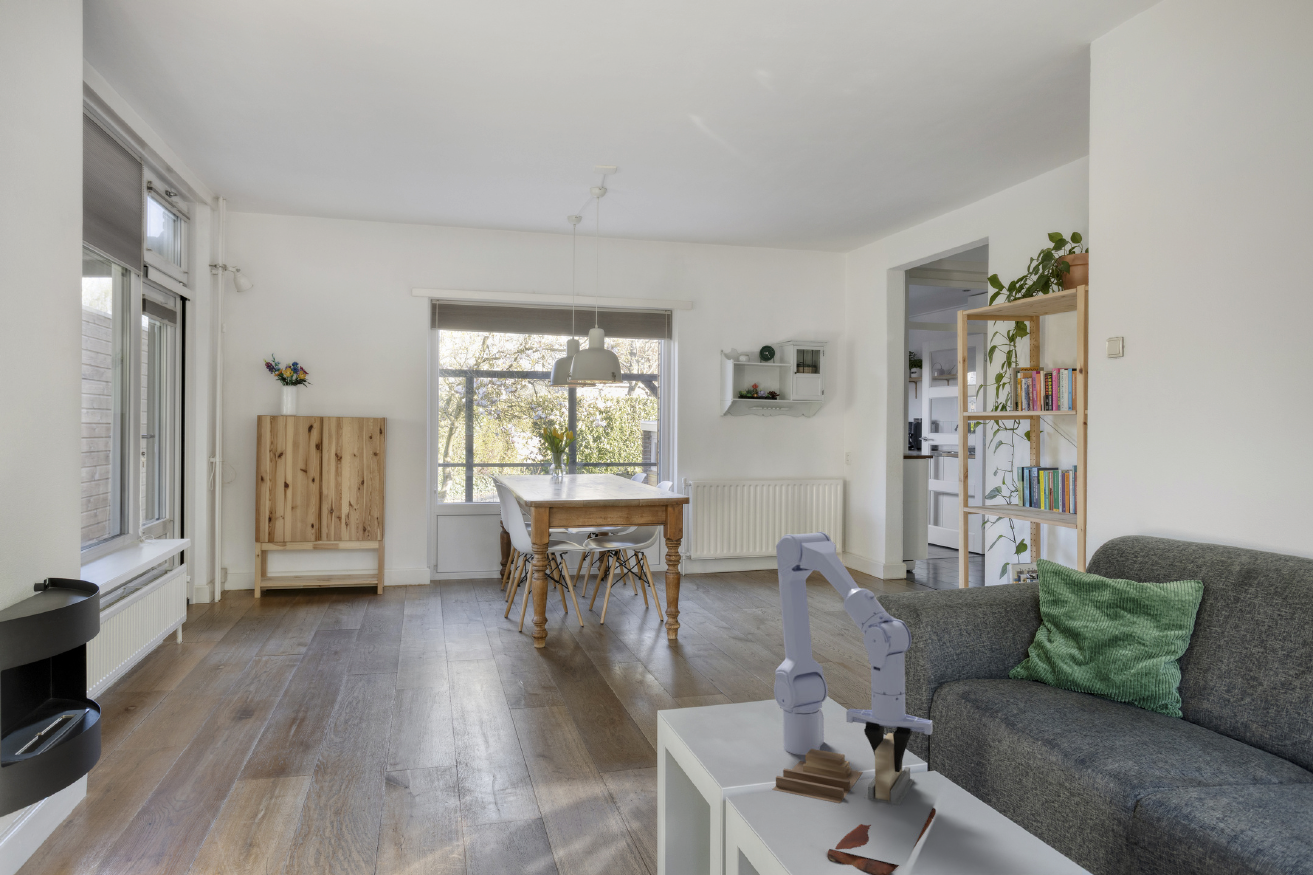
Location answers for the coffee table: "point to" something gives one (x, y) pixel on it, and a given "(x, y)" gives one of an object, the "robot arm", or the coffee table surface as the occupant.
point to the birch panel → (885, 768)
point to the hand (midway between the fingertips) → (889, 768)
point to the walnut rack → (815, 784)
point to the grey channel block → (897, 790)
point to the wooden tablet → (859, 838)
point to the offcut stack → (826, 763)
